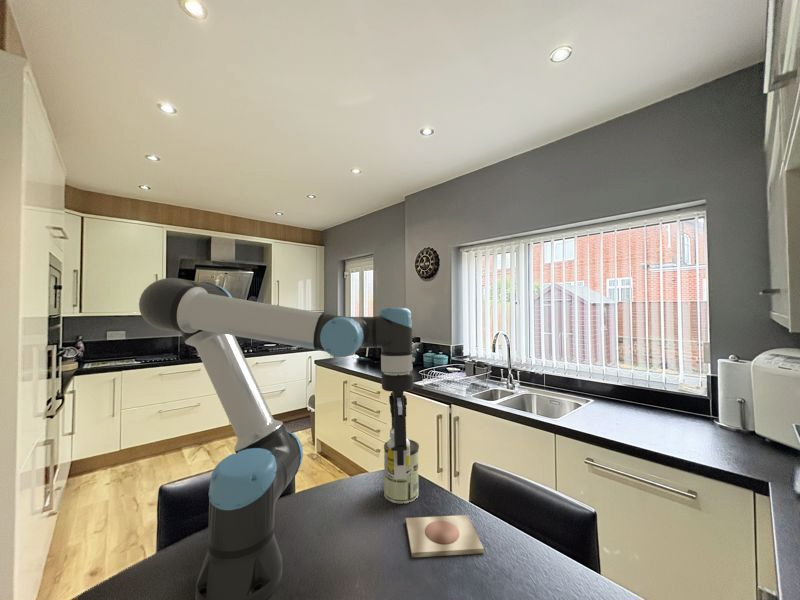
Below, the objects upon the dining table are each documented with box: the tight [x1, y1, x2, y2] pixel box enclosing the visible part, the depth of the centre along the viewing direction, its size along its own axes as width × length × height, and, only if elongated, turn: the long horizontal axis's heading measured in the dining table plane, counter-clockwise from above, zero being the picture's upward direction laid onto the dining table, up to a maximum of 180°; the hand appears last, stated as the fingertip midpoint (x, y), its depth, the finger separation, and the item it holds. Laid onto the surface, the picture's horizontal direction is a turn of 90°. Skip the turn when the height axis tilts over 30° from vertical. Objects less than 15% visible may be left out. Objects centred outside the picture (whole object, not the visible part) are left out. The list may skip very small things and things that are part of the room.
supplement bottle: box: [386, 429, 411, 477], centre depth 77 cm, size 5×5×10 cm
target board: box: [405, 514, 485, 558], centre depth 77 cm, size 16×12×1 cm
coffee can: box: [383, 438, 420, 505], centre depth 95 cm, size 10×10×14 cm
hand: (399, 471), depth 76 cm, fingers closed on supplement bottle, 5 cm apart
